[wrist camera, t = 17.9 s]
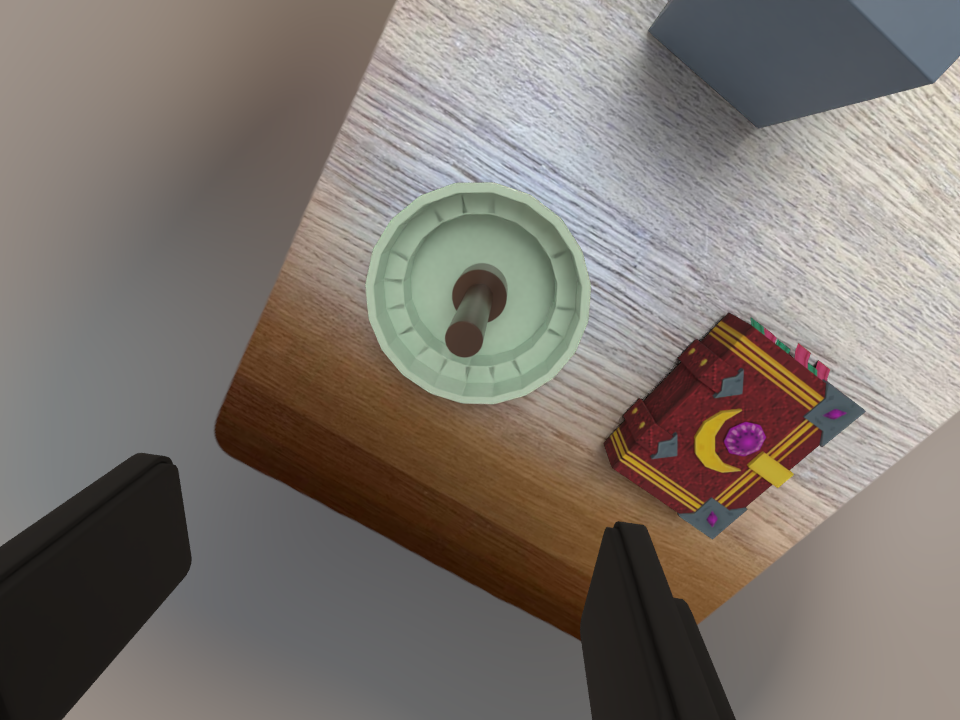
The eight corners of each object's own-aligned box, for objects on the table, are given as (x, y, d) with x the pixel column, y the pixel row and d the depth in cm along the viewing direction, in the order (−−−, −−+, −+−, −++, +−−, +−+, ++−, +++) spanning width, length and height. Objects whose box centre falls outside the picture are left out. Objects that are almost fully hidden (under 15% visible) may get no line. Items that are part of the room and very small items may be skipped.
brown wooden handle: (447, 294, 36) (411, 347, 24) (476, 252, 35) (453, 286, 22) (488, 323, 36) (473, 389, 24) (518, 283, 35) (518, 332, 23)
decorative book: (598, 439, 40) (609, 472, 36) (736, 295, 35) (769, 311, 30) (694, 505, 42) (716, 544, 37) (839, 376, 37) (886, 403, 32)
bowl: (355, 304, 38) (327, 325, 32) (458, 139, 33) (445, 128, 27) (502, 405, 40) (500, 440, 34) (619, 264, 35) (639, 278, 29)
